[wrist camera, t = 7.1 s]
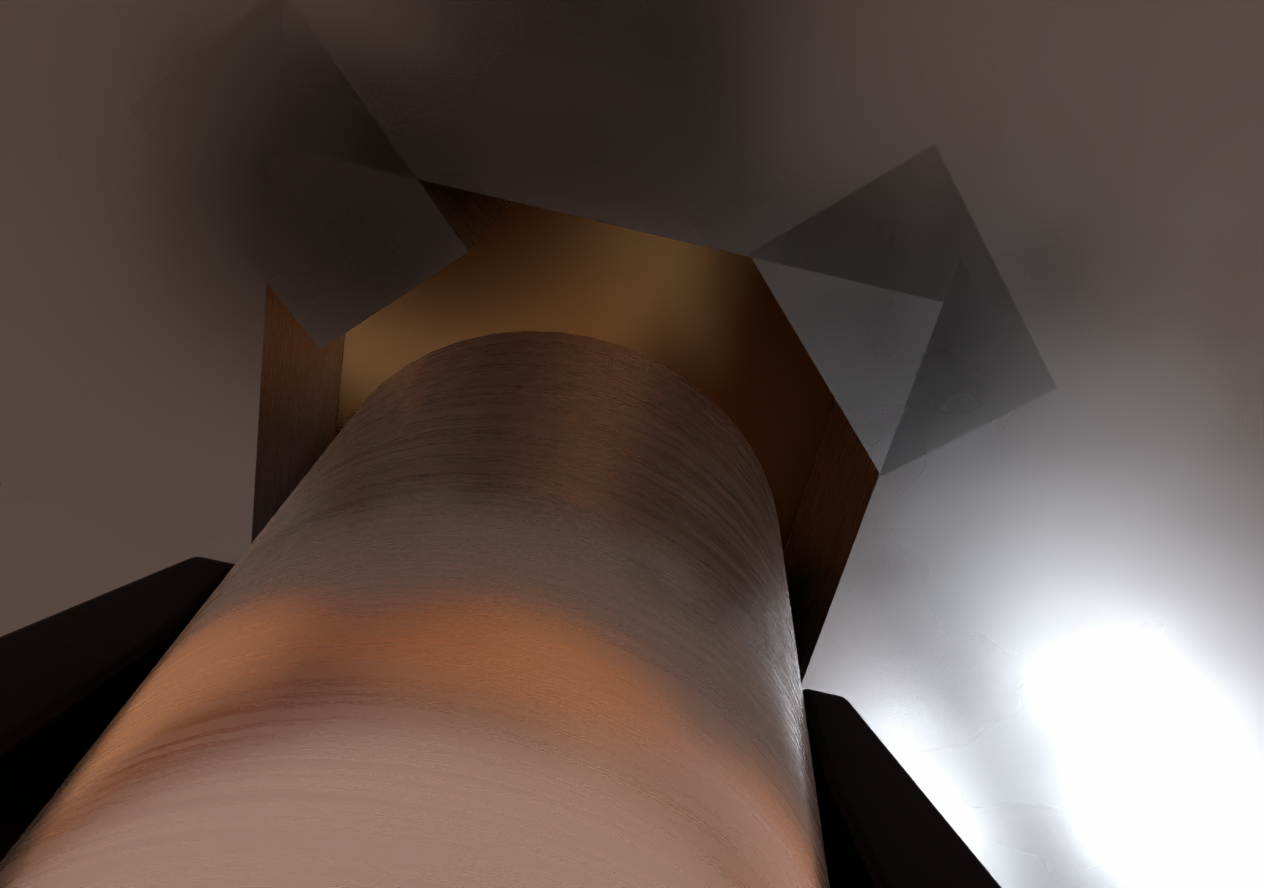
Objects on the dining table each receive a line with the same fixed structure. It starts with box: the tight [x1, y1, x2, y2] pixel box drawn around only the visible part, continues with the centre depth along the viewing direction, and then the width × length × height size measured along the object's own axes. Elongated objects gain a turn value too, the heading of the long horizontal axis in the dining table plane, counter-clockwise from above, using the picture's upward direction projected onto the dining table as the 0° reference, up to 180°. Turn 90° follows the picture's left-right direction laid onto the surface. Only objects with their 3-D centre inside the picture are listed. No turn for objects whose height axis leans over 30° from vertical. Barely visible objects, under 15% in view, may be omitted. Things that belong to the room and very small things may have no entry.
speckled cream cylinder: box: [0, 331, 830, 888], centre depth 7 cm, size 5×5×8 cm
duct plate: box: [0, 0, 1264, 888], centre depth 13 cm, size 18×18×3 cm
